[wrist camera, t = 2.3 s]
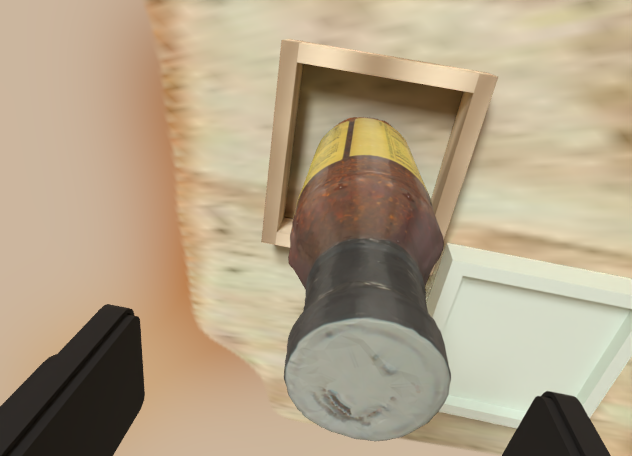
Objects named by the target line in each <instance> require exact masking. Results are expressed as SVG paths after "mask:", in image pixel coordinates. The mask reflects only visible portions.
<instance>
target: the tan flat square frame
mask: <svg viewBox="0 0 632 456" xmlns="http://www.w3.org/2000/svg"><path fill="white" fill-rule="evenodd" d="M303 63H304V64H310V65H315V66H321V67H327V68H333V69H338V70H344V71H350V72H356V73H362V74H367V75H373V76H379V77H385V78H390V79H396V80H402V81H408V82H413V83H419V84H425V85H431V86H436V87H442V88H448V89H454V90H459V91H464V92H463V95H462V99H461V102H460V105H459V108H458V112H457V115H456V118H455V122H454V125H453V128H452V132H451V135H450V138H449V142H448V145H447V148H446V151H445V155H444V158H443V161H442V165H441V168H440V171H439V175H438V178H437V181H436V185H435V188H434V191H433V194H432V198H431V202H432V206H433V211H434V214H435V216H436V219H437V222H438V225H439V227H440V230H441V233H442V235H443V240H444V238H445V235H446V232H447V229H448V226H449V223H450V220H451V217H452V214H453V211H454V208H455V205H456V202H457V199H458V196H459V193H460V190H461V187H462V184H463V181H464V178H465V175H466V172H467V169H468V166H469V163H470V160H471V157H472V154H473V151H474V148H475V145H476V142H477V139H478V136H479V133H480V130H481V127H482V124H483V121H484V118H485V115H486V112H487V109H488V106H489V103H490V100H491V97H492V94H493V91H494V88H495V85H496V82H497V79H498V77H496V76H494V75H491V74H489V73H485V72H479V71H474V70H468V69H462V68H456V67H450V66H444V65H438V64H433V63H427V62H421V61H415V60H409V59H403V58H397V57H392V56H386V55H380V54H374V53H368V52H362V51H356V50H351V49H345V48H339V47H333V46H327V45H321V44H315V43H310V42H304V41H298V40H292V39H287V40H282V41H281V51H280V61H279V71H278V81H277V91H276V101H275V111H274V121H273V131H272V141H271V151H270V161H269V171H268V181H267V191H266V201H265V211H264V221H263V231H262V241H261V242H264V243H269V244H274V245H279V246H284V247H289V248H290V233H291V229H292V221H293V219H290V218H285V217H284V215H285V207H286V199H287V191H288V183H289V175H290V167H291V159H292V151H293V143H294V135H295V127H296V119H297V111H298V103H299V95H300V87H301V79H302V71H303ZM435 264H436V263H435ZM434 267H435V265H434ZM434 267H433V269H432V271H431V273H430V276H432V273H433V270H434Z"/></svg>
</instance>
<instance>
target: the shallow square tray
mask: <svg viewBox="0 0 632 456" xmlns="http://www.w3.org/2000/svg"><path fill="white" fill-rule="evenodd" d="M426 305H427V309H428V314H430V316H431V317H432V318H433V319H434V320H435V322H436V324H437V326H438V328H439V330H440V331H441V334H442V337H443V340H444V344H445V349H446V355H447V359H448V364H449V368H450V372H451V382H450V386H449V394H448V397H447V399H446V401H445V403H444V404H443V406H442V407H441V409H440V410H439V411H438V412H443V413H447V414H452V415H456V416H461V417H466V418H470V419H475V420H479V421H484V422H489V423H493V424H498V425H503V426H507V427H512V428H516V429H517V428H518V426H519V425H520V423H521V421H522V419H523V417H524V416H525V414H526V412H527V410H528V409H529V407H530V405H531V403H532V402H533V400H534V398H535V397H537V396H541V395H542V394H543V393H544V392H546V391H551V392H556V393H561V394H566V395H571V396H574V397H576V398H577V399H578V400H579V401H580V403H581V404H582V406H583V408H584V410H585V411H586V413H587V415H588V417H589V418H590V417H591V415H592V414H593V413H594V411H595V410H596V408H597V407H598V405H599V404H600V402H601V401H602V399H603V398H604V396H605V395H606V393H607V392H608V390H609V389H610V387H611V386H612V384H613V383H614V382H615V380H616V379H617V377H618V376H619V374H620V373H621V371H622V370H623V368H624V367H625V365H626V364H627V362H628V361H629V359H630V358H631V356H632V279H631V278H626V277H621V276H616V275H611V274H606V273H600V272H595V271H590V270H585V269H580V268H575V267H569V266H564V265H559V264H554V263H549V262H544V261H539V260H533V259H528V258H523V257H518V256H513V255H508V254H502V253H497V252H492V251H487V250H482V249H477V248H472V247H466V246H461V245H456V244H451V243H447V244H446V247H445V250H444V253H443V256H442V259H441V262H440V265H439V268H438V271H437V274H436V277H435V280H434V283H433V285H432V288H431V291H430V294H429V297H428V300H427V303H426Z"/></svg>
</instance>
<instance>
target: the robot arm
mask: <svg viewBox="0 0 632 456" xmlns="http://www.w3.org/2000/svg"><path fill="white" fill-rule="evenodd" d="M141 346H142V345H141V329H140V319H139V317H137V316H134V313H133V310H132V309H129V308H124V307H119V306H114V305H109V304H107V305H104V306H103V307H102V308H101V309H100V310H99V311H98V312H97V313H96V314H95V315H94V316H93V317H92V318H91V319H90V321H89V322H88V323H87V324H86V325H85V326H84V327H83V328H82V329H81V330H80V331H79V332H78V333H77V334H76V335H75V336H74V337H73V338H72V339H71V340H70V342H69V343H68V344H67V345H66V346H65V347H64V348H63V349H62V350H61V351H60V352H59V353H58V354H56V355H53V356H51V357H49V358H48V359H47V360H46V361H45V362H43V363H42V364H41V365H40V366H39V368H37V369H36V371H35V372H34V373H33V374H32V375H31V376H30V377H29V378H28V379H27V380H26V381H25V382H24V383H23V384H22V385H21V386H20V387H19V388H18V389H17V390H16V391H15V392H14V393H13V394H12V395H11V396H10V397H9V398H8V399H7V400H6V402H4V403H3V405H1V407H0V456H113V454H114V453H115V451H116V449H117V448H118V446H119V444H120V443H121V441H122V439H123V438H124V436H125V434H126V433H127V431H128V429H129V427H130V426H131V424H132V423H133V421H134V419H135V418H136V416H137V414H138V413H139V411H140V409H141V407H142V404H143V401H144V395H145V392H144V377H143V363H142V362H143V361H142V347H141ZM502 456H611V455H610V454H609V452H608V450H607V448H606V447H605V445H604V443H603V441H602V440H601V438H600V436H599V434H598V433H597V431H596V429H595V427H594V425H593V424H592V422H591V420H590V418H589V417H588V415H587V413H586V411H585V410H584V408H583V406H582V404H581V403H580V401H579V400H578V399H577V398H576V397H574V396H571V395H566V394H561V393H556V392H551V391H546V392H544V393H543V394H542V395H541V396H537V397H535V398H534V400H533V402H532V403H531V405H530V407H529V409H528V410H527V412H526V414H525V416H524V417H523V419H522V421H521V423H520V425H519V426H518V428H517V430H516V432H515V433H514V435H513V437H512V439H511V440H510V442H509V444H508V446H507V447H506V449H505V451H504V453H503V454H502Z"/></svg>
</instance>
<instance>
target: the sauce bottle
mask: <svg viewBox="0 0 632 456" xmlns="http://www.w3.org/2000/svg"><path fill="white" fill-rule="evenodd" d="M443 244H444V240H443V235H442V233H441V230H440V227H439V225H438V222H437V219H436V216H435V214H434V211H433V206H432V202H431V199H430V196H429V194H428V191H427V189H426V187H425V185H424V182H423V180H422V178H421V176H420V173H419V171H418V169H417V166H416V164H415V162H414V159H413V157H412V154H411V152H410V149H409V147H408V145H407V142H406V140H405V139H404V138H403V137H402V136H401V134H400V133H399V132H398V131H396V130H395V129H394V128H393V127H392V126H391V125H389V124H388V123H387V122H385V121H381V120H377V119H374V118H364V117H360V118H357V117H354V118H349V119H347V120H344V121H343V122H341V123H339V124H338V125H337V126H335V127H334V128H333V129H332V130H330V131H329V132H328V133H327V134H326V135H325V136H324V137H323V138H322V140H321V142H320V144H319V146H318V148H317V150H316V153H315V155H314V158H313V161H312V163H311V166H310V169H309V172H308V175H307V177H306V180H305V183H304V185H303V188H302V190H301V193H300V196H299V199H298V202H297V205H296V210H295V216H294V219H293V221H292V229H291V233H290V252H289V257H288V258H289V264H290V266H291V267H292V268H293V269H294V270H295V272H296V274H297V275H298V277H299V279H300V281H301V282H302V284H303V286H304V287H305V289H306V298H305V306H304V311H303V313H302V314H301V315H300V317H299V318H298V320H297V321H296V323H295V324H294V325H293V328H292V330H291V332H290V335H289V338H288V344H287V355H286V360H285V369H284V380H285V383H286V385H287V390H288V394H289V396H290V398H291V399H292V401H293V402H294V404H295V406H296V407H297V409H298V410H299V411H301V412H302V414H303V415H304V416H305V417H306V418H308V419H309V420H311V421H312V422H314V423H316V424H317V425H319V426H320V427H323V428H325V429H327V430H329V431H331V432H335V433H338V434H342V435H345V436H348V437H351V438H354V439H363V440H370V441H383V440H390V439H394V438H399V437H403V436H405V435H407V434H409V433H411V432H413V431H415V430H416V429H418V428H420V427H421V426H423V425H425V424H426V423H428V422H429V421H430V420H431V419H432V418H433V417H434V416H435V415H436V413H437V412H438V411H439V410H440V409H441V407H442V406H443V404H444V403H445V401H446V399H447V397H448V394H449V386H450V382H451V372H450V368H449V364H448V359H447V355H446V349H445V344H444V340H443V337H442V334H441V331H440V330H439V328H438V326H437V324H436V322H435V320H434V319H433V318H432V317H431V316H430V314H428V309H427V305H426V299H425V298H426V292H425V285H426V283H427V280H428V278H429V275H430V273H431V271H432V269H433V267H434V265H435V263H436V262H437V261H438V259H439V258H440V256H441V253H442V250H443Z"/></svg>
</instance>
